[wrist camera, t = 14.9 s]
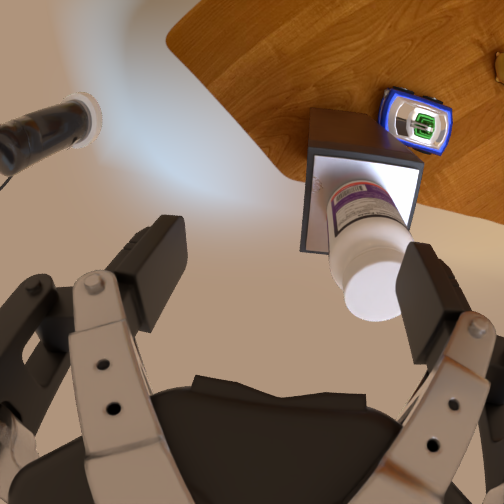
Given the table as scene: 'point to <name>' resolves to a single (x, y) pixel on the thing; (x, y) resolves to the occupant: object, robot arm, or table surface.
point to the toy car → (416, 120)
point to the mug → (499, 67)
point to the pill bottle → (366, 248)
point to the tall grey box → (353, 168)
